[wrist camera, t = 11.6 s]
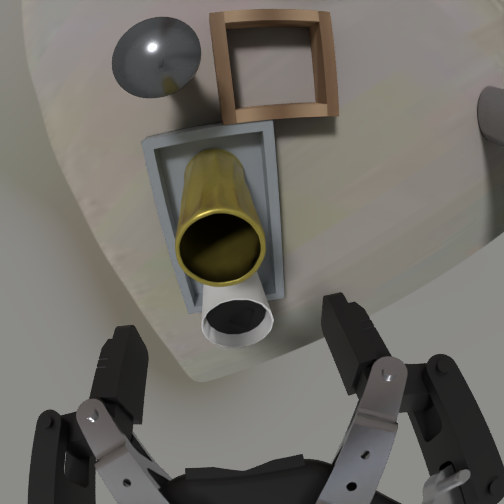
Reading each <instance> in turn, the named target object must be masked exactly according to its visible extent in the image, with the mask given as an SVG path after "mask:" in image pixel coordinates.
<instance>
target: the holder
mask: <svg viewBox="0 0 504 504" xmlns="http://www.w3.org/2000/svg"><path fill="white" fill-rule="evenodd" d="M209 23H210V31H211V40H212V48H213V56H214V64H215V72H216V80H217V88H218V95H219V103H220V111H221V118H222V123H223V125H228V124H235V123H243V122H251V121H261V120H271V119H283V118H298V117H321V116H339V104H338V86H337V72H336V60H335V50H334V40H333V32H332V24H331V16H330V12H324V11H313V10H296V9H254V10H236V11H225V12H215V13H210V14H209ZM253 27H309V34H310V43H311V52H312V62H313V73H314V85H315V99H316V103H290V104H275V105H263V106H252V107H243V108H235V102H234V94H233V86H232V77H231V69H230V61H229V52H228V44H227V36H226V30H227V29H238V28H253Z"/></svg>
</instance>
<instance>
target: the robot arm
mask: <svg viewBox="0 0 504 504" xmlns="http://www.w3.org/2000/svg"><path fill="white" fill-rule="evenodd" d="M478 120H479V125H480V129H481V131H482V133H483V135H484V137H485V138H486V139H487V140H489V141H491V142H494V143H496V144H499V145H501V146H503V147H504V89H501V88H496V87H492V86H489V87H486V88H485V89H484V90H483V92H482V93H481V96H480V98H479V103H478ZM321 325H322V331H323V334H324V336H325V339H326V341H327V344H328V346H329V348H330V351H331V353H332V356H333V358H334V361H335V363H336V366H337V368H338V371H339V373H340V376H341V378H342V381H343V383H344V386H345V388H346V391H347V393H348V395H352V394H355V393H356V394H357V396H358V399H359V401H358V403H357V406H356V408H355V411H354V414H353V416H352V419H351V421H350V424H349V426H348V429H347V431H346V434H345V436H344V438H343V440H342V443H341V445H340V446H339V449H338V451H337V453H336V455H335V457H334V459H333V461H332V463H331V464H329V463H327V462H324V461H319V460H314V459H304V458H303V454H300V455H296V456H291V457H286V458H281V459H275V460H272V461H269V462H267V463H264V464H262V465H259V466H257V467H255V468H251V469H249V470H246V471H238V470H229V469H221V468H215V467H207V468H185V474H183V475H181V476H178V477H176V478H174V479H172V478H171V477H170V476H169V475H168V474H167V473H166V472H165V471H164V470H163V469H162V468H161V467H160V466H159V465H158V464H157V463H156V462H155V460H154V459H153V458H152V457H151V456H150V454H149V453H148V451H147V450H146V449H145V447H144V446H143V445H142V443H141V442H140V441H139V439H138V438H137V436H136V435H135V433H134V432H133V424H142V416H143V405H144V395H145V385H146V377H147V368H148V351H147V348H146V346H145V344H144V342H143V341H142V339H141V337H140V335H139V333H138V331H137V330H136V328H135V326H134V325H127V326H117V327H116V328H115V331H114V335H113V339H108V340H107V342H106V343H105V344H104V346H103V347H102V349H101V353H100V357H99V360H98V364H97V369H96V372H95V376H94V380H93V385H92V389H91V393H90V397H89V399H88V400H86V401H84V402H83V403H82V404H81V405H80V406H79V407H78V409H77V411H76V412H73V413H69V414H65V415H60V414H58V413H57V412H56V411H54V410H46V411H44V412H43V413H42V414H41V415H40V416H39V418H38V420H37V425H36V431H35V436H34V442H33V448H32V456H31V464H30V474H29V487H28V504H96V502H95V470H97V471H98V473H99V475H100V477H101V478H102V480H103V481H104V483H105V485H106V486H107V488H108V489H109V491H110V492H111V494H112V496H113V497H114V498H115V500H116V501H117V503H118V504H401V503H399V502H397V501H395V500H393V499H391V498H389V497H387V496H386V495H384V494H382V493H380V492H378V491H376V489H377V486H378V484H379V481H380V479H381V476H382V474H383V471H384V469H385V466H386V463H387V460H388V457H389V455H390V451H391V449H392V445H393V442H394V439H395V436H396V433H397V429H398V423H397V422H396V421H397V416H398V413H402V412H407V413H408V415H409V418H410V420H411V423H412V426H413V428H414V431H415V434H416V436H417V439H418V442H419V445H420V448H421V450H422V453H423V456H424V459H425V462H426V465H427V468H428V471H429V474H430V477H429V479H428V480H427V481H426V482H425V484H424V487H423V502H422V504H497V503H498V502H499V501H501V499H502V498H503V497H504V466H503V463H502V460H501V458H500V455H499V452H498V450H497V447H496V445H495V442H494V440H493V437H492V435H491V433H490V430H489V428H488V426H487V424H486V422H485V419H484V417H483V415H482V413H481V411H480V409H479V407H478V404H477V402H476V400H475V398H474V396H473V394H472V392H471V390H470V389H469V387H468V385H467V383H466V381H465V379H464V377H463V376H462V374H461V372H460V370H459V368H458V366H457V365H456V363H455V361H454V360H453V359H452V358H451V357H449V356H447V355H444V354H437V355H434V356H432V357H431V358H430V359H429V361H428V362H427V363H424V364H404V363H403V362H402V361H401V360H400V359H398V358H395V357H392V356H391V354H390V353H389V351H388V349H387V348H386V345H385V344H384V342H383V340H382V338H381V337H380V335H379V333H378V332H377V330H376V328H375V327H374V325H373V323H372V321H371V320H370V318H369V316H368V314H367V313H366V311H365V309H364V308H363V307H361V306H360V305H359V304H357V303H356V302H351V303H348V302H347V300H346V298H345V296H344V295H343V293H341V292H340V293H335V294H330V295H325V296H324V297H323V306H322V318H321ZM65 452H66V461H65ZM96 460H97V461H96ZM64 464H65V474H64Z"/></svg>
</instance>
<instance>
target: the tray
mask: <svg viewBox="0 0 504 504" xmlns="http://www.w3.org/2000/svg"><path fill="white" fill-rule="evenodd" d="M141 143H142V148H143V153H144V157H145V162H146V166H147V171H148V175H149V179H150V184H151V188H152V192H153V196H154V200H155V204H156V208H157V212H158V215H159V219H160V223H161V226H162V230H163V234H164V237H165V241H166V244H167V248H168V251H169V254H170V258H171V261H172V264H173V268H174V271H175V274H176V277H177V280H178V284H179V287H180V290H181V293H182V296H183V299H184V302H185V305H186V308H187V311H188V314H191V313H198V312H202V305H203V285H204V284H202V283H199V282H197V281H196V280H194V279H193V278H191V277H190V276H188V275H187V274H186V273H185V272H184V271H183V270H182V269H181V267H180V266H179V264H178V261H177V257H176V252H175V238H176V232H177V227H178V221H179V215H180V208H181V200H182V193H183V187H184V173H185V169H186V166H187V164H188V163H189V161H190V160H191V159H192V158H193V157H194V156H195V155H196V154H198V153H199V152H201V151H204V150H207V149H213V148H217V149H223V150H226V151H228V152H230V153H232V154H233V155H235V156H236V157H237V158H238V160H239V161H240V162H241V164H242V166H243V168H244V174H245V182H246V185H247V187H248V189H249V191H250V194H251V198H252V201H253V205H254V207H255V209H256V212H257V215H258V217H259V220H260V223H261V225H262V227H263V230H264V233H265V243H266V253H265V256H264V259H263V261H262V263H261V265H260V267H259V268H258V270H257V273H258V276H259V279H260V281H261V284H262V287H263V290H264V293H265V295H266V298H267V301H271V300H276V299H281V298H284V279H283V258H282V239H281V222H280V206H279V191H278V177H277V164H276V151H275V139H274V128H273V120H272V119H271V120H261V121H251V122H243V123H235V124H228V125H223V123H222V122H221V123H215V124H209V125H203V126H197V127H191V128H186V129H181V130H176V131H171V132H166V133H162V134H157V135H153V136H148V137H146V138H145V139H144V140H142V141H141Z"/></svg>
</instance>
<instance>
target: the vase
mask: <svg viewBox="0 0 504 504" xmlns="http://www.w3.org/2000/svg"><path fill="white" fill-rule="evenodd" d="M175 252H176V257H177V261H178V264H179V266H180V267H181V269H182V270H183V271H184V272H185V273H186V274H187V275H188V276H190V277H191V278H193V279H194V280H196V281H197V282H199V283H202V284H204V285H208V286H212V287H226V286H231V285H236V284H239V283H241V282H243V281H245V280H247V279H248V278H250V277H251V276H252V275H253V274H254V273H255V272H256V271H257V270H258V268H259V267H260V265H261V263H262V261H263V259H264V256H265V253H266V243H265V233H264V230H263V227H262V225H261V223H260V220H259V217H258V215H257V212H256V209H255V207H254V205H253V201H252V198H251V194H250V191H249V189H248V187H247V185H246V182H245V174H244V168H243V166H242V164H241V162H240V161H239V160H238V158H237V157H236V156H235V155H233V154H232V153H230V152H228V151H226V150H223V149H217V148H213V149H207V150H204V151H201V152H199V153H198V154H196V155H195V156H194V157H193V158H192V159H191V160H190V161H189V163H188V164H187V166H186V169H185V173H184V187H183V193H182V200H181V208H180V215H179V221H178V227H177V232H176V238H175Z"/></svg>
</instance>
